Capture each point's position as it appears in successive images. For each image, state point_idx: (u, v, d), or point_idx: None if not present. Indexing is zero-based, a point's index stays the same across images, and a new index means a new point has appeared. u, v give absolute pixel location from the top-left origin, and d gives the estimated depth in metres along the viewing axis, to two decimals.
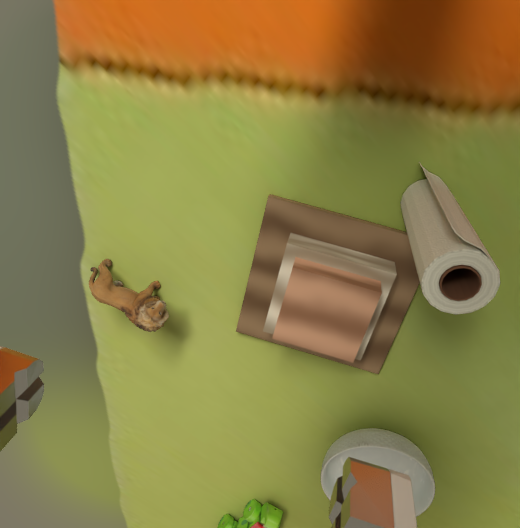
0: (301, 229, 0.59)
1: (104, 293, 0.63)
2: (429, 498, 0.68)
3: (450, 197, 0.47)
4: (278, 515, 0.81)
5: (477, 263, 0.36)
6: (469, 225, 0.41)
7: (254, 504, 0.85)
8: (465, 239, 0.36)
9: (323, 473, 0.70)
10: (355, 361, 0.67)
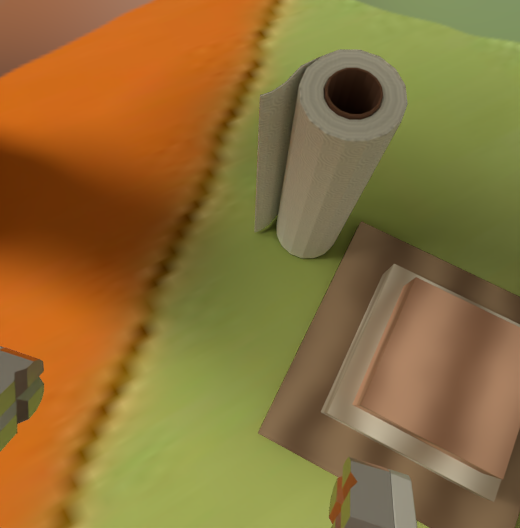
0: (318, 394, 0.40)
1: None
2: None
3: (282, 175, 0.38)
4: None
5: (323, 71, 0.25)
6: None
7: None
8: (285, 85, 0.25)
9: None
10: None
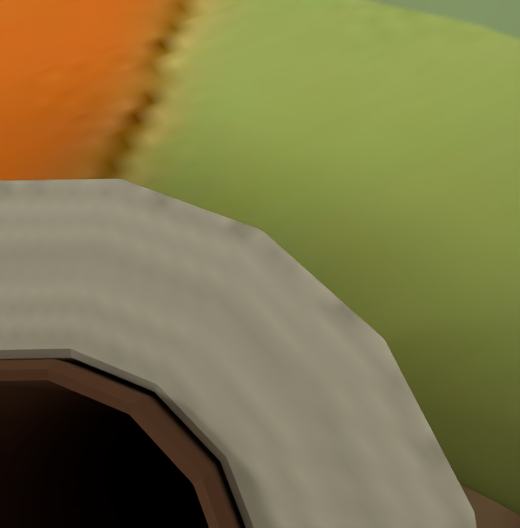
0: None
1: None
2: None
3: None
4: None
5: None
6: None
7: None
8: None
9: None
10: None
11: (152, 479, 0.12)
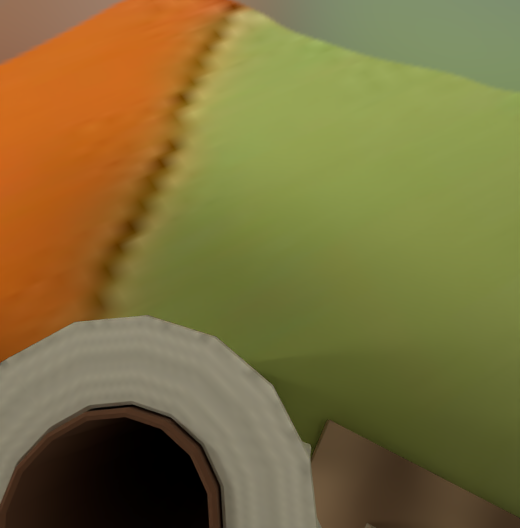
0: None
1: None
2: None
3: None
4: None
5: (8, 428, 0.07)
6: None
7: None
8: None
9: None
10: None
11: (171, 457, 0.17)
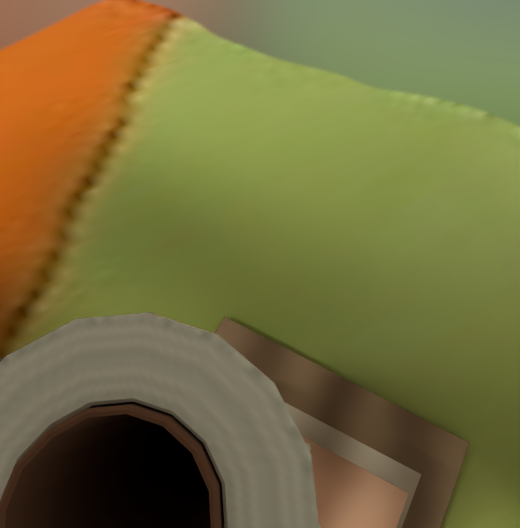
0: None
1: None
2: None
3: None
4: None
5: (8, 425, 0.07)
6: None
7: None
8: None
9: None
10: (440, 483, 0.35)
11: (168, 455, 0.17)
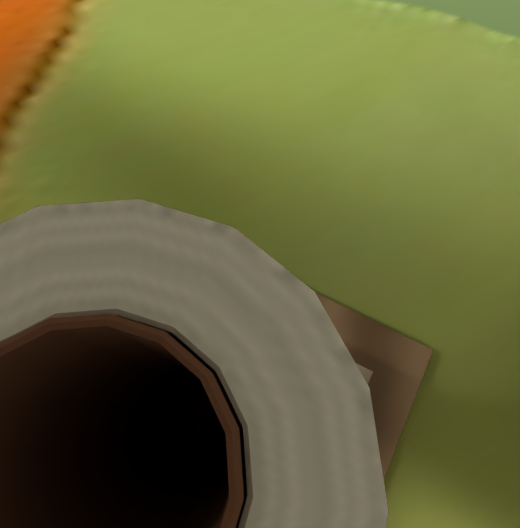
0: None
1: None
2: None
3: None
4: None
5: None
6: None
7: None
8: None
9: None
10: (400, 392, 0.31)
11: (159, 451, 0.14)
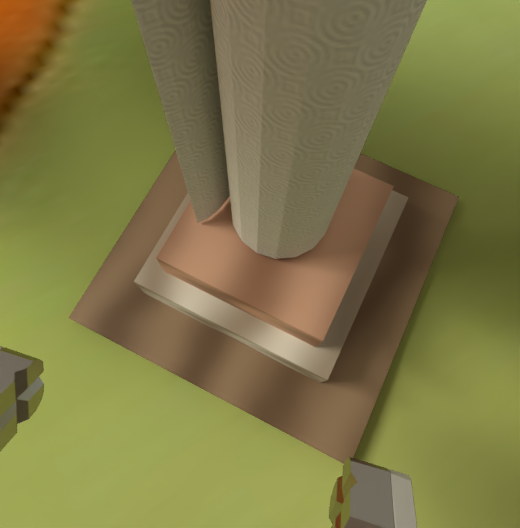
0: None
1: None
2: None
3: None
4: None
5: None
6: None
7: None
8: None
9: None
10: (430, 230, 0.35)
11: None
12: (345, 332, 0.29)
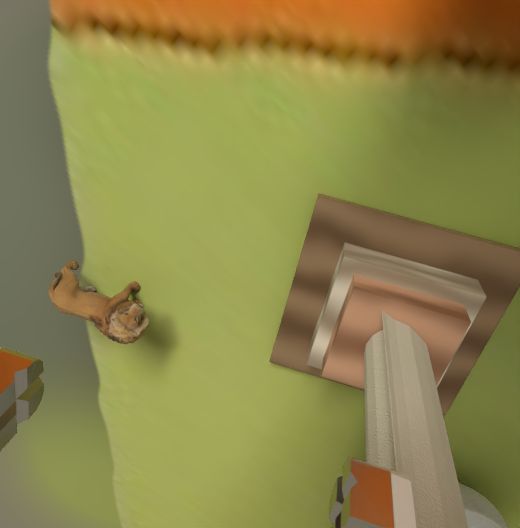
0: (358, 238, 0.47)
1: (67, 300, 0.51)
2: None
3: (417, 382, 0.35)
4: None
5: None
6: (438, 457, 0.30)
7: None
8: None
9: None
10: None
11: None
12: None
